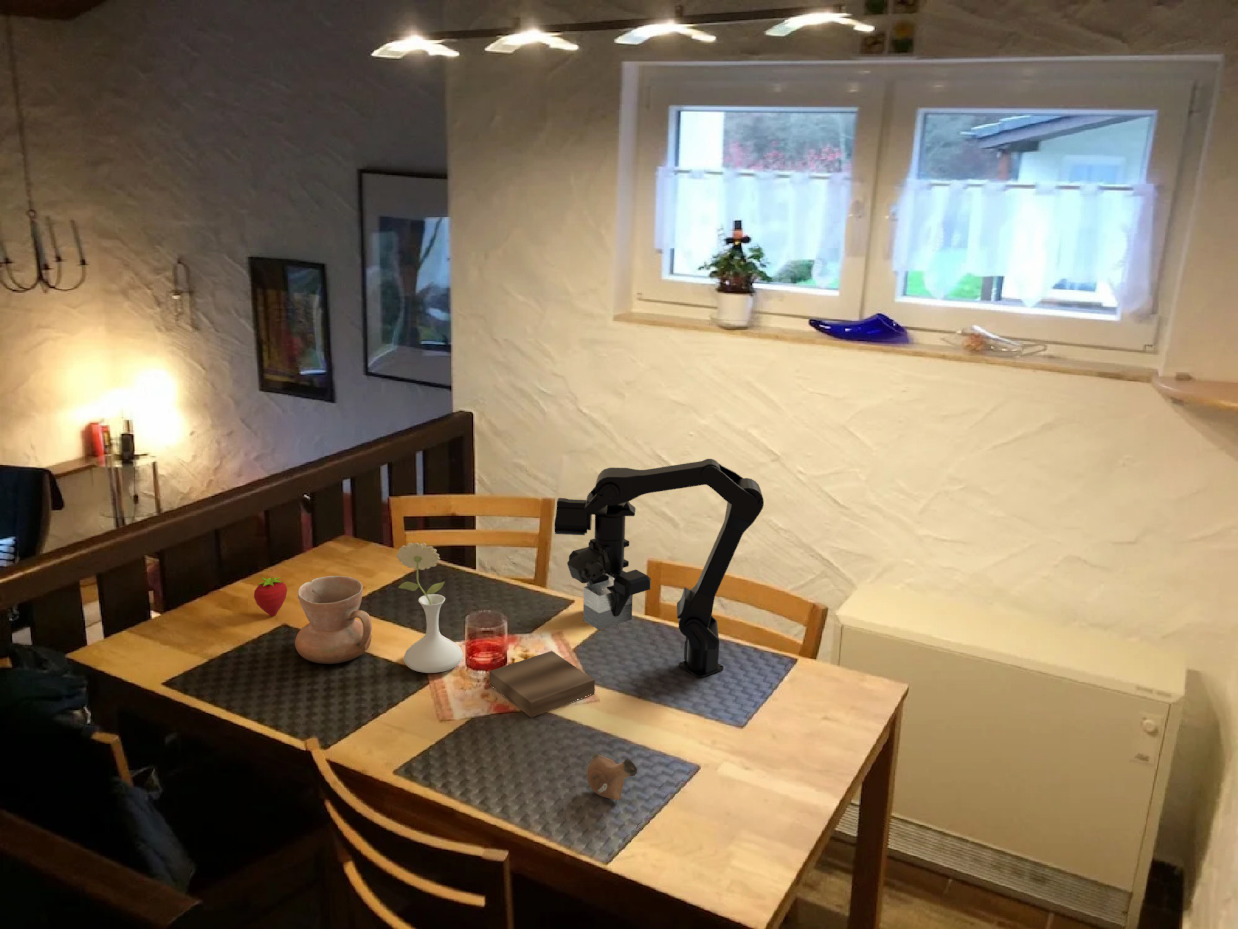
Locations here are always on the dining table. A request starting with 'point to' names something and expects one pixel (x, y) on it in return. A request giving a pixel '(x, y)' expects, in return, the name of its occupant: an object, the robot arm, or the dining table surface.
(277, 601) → the strawberry
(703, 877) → the dining table surface
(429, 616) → the flower in vase
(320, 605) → the ceramic jug
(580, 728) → the dining table surface
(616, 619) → the housing
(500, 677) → the stand
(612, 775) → the oil lamp
